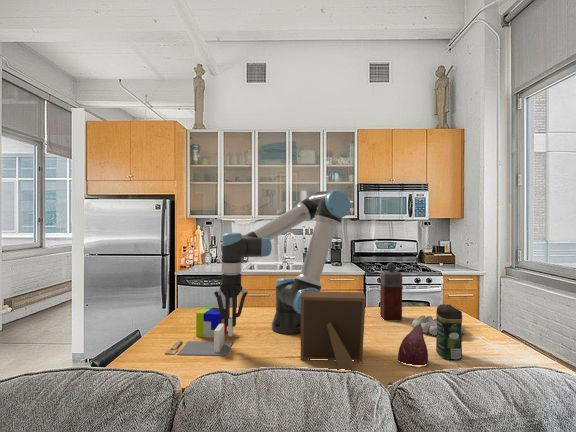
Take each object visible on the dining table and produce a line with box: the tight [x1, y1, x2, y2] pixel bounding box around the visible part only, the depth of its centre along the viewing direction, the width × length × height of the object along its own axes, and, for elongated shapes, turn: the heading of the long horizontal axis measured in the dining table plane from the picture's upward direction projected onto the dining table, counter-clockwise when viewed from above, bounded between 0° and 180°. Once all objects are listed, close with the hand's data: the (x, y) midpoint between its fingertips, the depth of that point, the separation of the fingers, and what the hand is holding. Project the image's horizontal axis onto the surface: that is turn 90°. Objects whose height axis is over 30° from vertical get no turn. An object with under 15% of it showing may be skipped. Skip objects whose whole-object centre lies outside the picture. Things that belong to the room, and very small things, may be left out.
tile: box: [213, 324, 225, 352], centre depth 142 cm, size 2×9×8 cm, turn 179°
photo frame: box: [300, 291, 367, 370], centre depth 128 cm, size 15×22×25 cm
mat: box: [176, 340, 234, 357], centre depth 143 cm, size 18×14×1 cm
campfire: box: [411, 315, 467, 336], centre depth 166 cm, size 22×21×6 cm
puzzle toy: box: [195, 306, 228, 339], centre depth 161 cm, size 10×10×10 cm
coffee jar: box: [435, 304, 463, 360], centre depth 137 cm, size 10×8×19 cm
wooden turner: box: [164, 340, 183, 356], centre depth 143 cm, size 4×12×1 cm, turn 178°
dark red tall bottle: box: [379, 262, 403, 321], centre depth 187 cm, size 9×11×28 cm
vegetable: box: [397, 324, 429, 365], centre depth 132 cm, size 10×10×15 cm
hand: (230, 334), depth 142 cm, fingers closed
